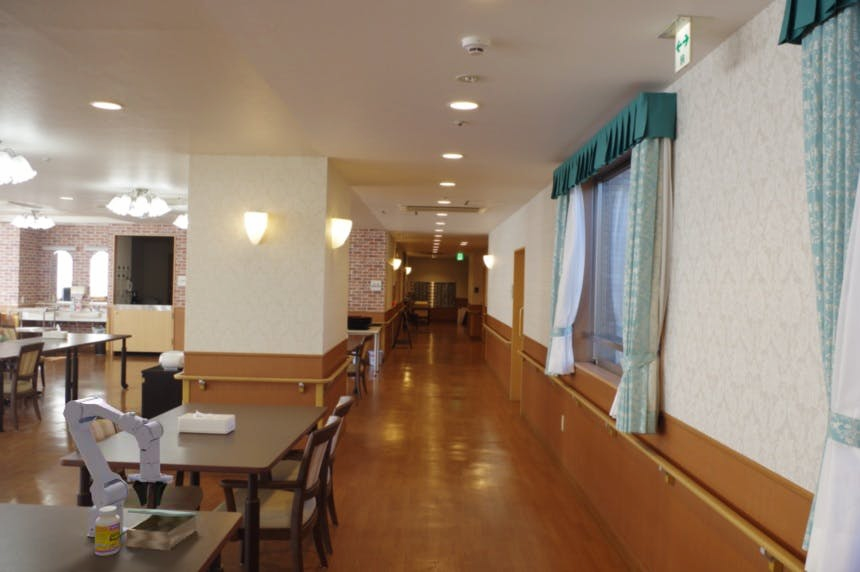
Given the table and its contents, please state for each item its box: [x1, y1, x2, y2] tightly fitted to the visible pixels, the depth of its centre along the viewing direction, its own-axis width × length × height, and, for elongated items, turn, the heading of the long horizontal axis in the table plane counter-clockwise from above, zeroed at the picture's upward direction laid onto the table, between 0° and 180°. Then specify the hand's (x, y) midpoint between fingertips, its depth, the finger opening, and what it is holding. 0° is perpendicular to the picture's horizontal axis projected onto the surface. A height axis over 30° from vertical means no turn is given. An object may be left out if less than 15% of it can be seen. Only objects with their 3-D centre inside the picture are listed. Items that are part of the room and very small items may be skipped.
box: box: [126, 514, 197, 551], centre depth 198 cm, size 14×15×5 cm
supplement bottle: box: [94, 506, 121, 557], centre depth 188 cm, size 7×7×13 cm
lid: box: [127, 509, 198, 516], centre depth 198 cm, size 14×15×1 cm
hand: (150, 505), depth 198 cm, fingers open, 4 cm apart
